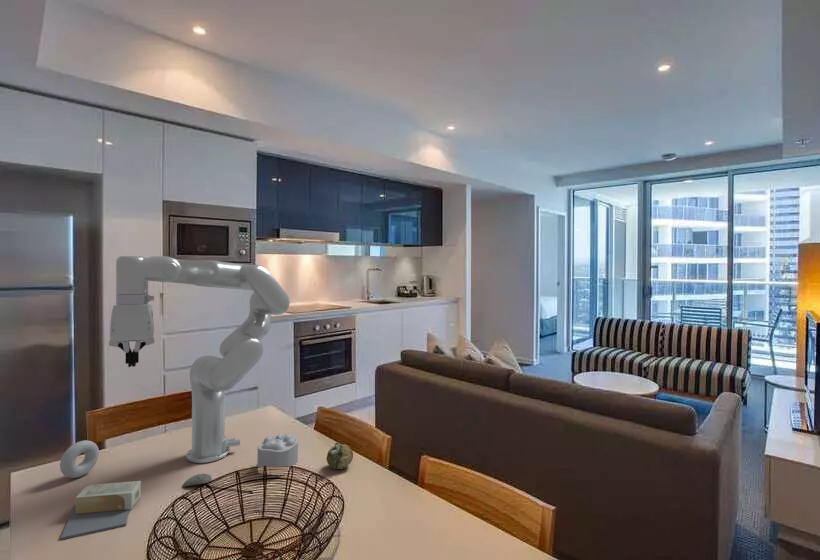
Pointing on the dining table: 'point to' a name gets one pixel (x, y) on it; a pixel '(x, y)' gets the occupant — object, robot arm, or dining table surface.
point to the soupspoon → (197, 480)
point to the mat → (93, 522)
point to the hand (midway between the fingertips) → (132, 365)
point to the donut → (73, 452)
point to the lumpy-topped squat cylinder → (278, 451)
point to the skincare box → (108, 497)
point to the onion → (339, 456)
